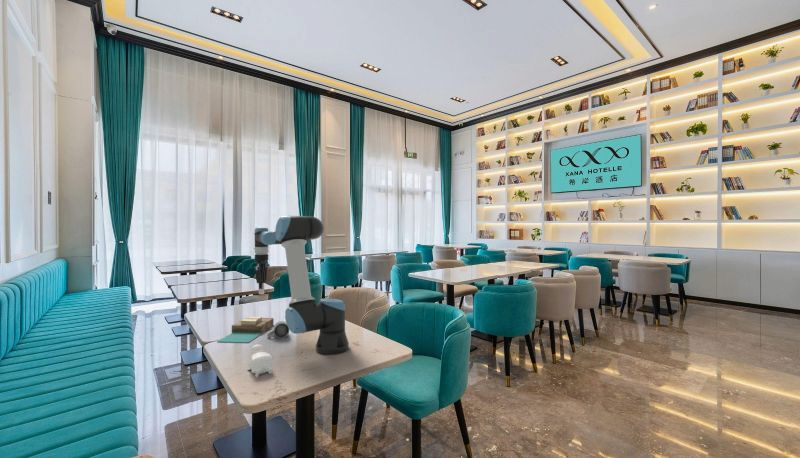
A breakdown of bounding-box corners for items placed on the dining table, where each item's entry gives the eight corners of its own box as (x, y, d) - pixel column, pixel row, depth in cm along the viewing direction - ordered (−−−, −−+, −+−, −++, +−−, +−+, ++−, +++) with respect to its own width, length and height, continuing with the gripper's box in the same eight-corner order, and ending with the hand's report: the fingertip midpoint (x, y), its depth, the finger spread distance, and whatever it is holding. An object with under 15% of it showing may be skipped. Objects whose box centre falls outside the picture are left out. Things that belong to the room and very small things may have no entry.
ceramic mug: (288, 332, 187) (287, 318, 187) (289, 337, 179) (289, 322, 179) (266, 335, 183) (266, 321, 183) (267, 340, 175) (267, 325, 175)
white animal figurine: (274, 379, 138) (266, 354, 149) (276, 362, 135) (267, 338, 146) (251, 385, 133) (244, 358, 144) (252, 367, 130) (245, 342, 142)
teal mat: (248, 343, 171) (248, 342, 171) (217, 342, 172) (217, 341, 172) (262, 333, 186) (262, 332, 186) (233, 333, 187) (233, 332, 187)
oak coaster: (255, 324, 188) (255, 321, 188) (240, 324, 189) (240, 320, 189) (262, 320, 196) (262, 317, 196) (248, 320, 197) (248, 316, 197)
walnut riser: (260, 333, 186) (260, 326, 186) (231, 332, 187) (231, 325, 187) (273, 324, 202) (273, 318, 202) (246, 324, 203) (246, 317, 203)
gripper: (260, 252, 211) (260, 291, 211) (249, 254, 198) (249, 296, 198) (272, 253, 210) (272, 292, 211) (262, 254, 197) (262, 296, 198)
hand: (261, 294), depth 204 cm, fingers closed
